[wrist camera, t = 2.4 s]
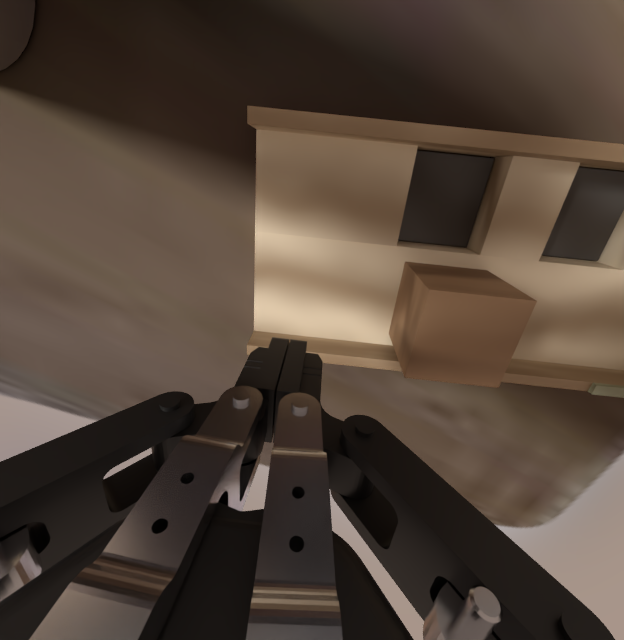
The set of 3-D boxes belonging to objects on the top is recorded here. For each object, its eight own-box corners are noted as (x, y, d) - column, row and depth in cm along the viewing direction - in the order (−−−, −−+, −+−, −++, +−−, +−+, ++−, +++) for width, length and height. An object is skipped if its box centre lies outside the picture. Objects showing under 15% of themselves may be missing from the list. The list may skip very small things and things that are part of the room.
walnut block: (405, 261, 19) (428, 289, 14) (486, 270, 19) (537, 301, 14) (388, 333, 21) (404, 377, 16) (461, 341, 21) (498, 387, 16)
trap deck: (264, 119, 18) (241, 100, 13) (748, 169, 17) (894, 168, 13) (259, 326, 23) (243, 363, 19) (622, 365, 23) (693, 411, 19)
